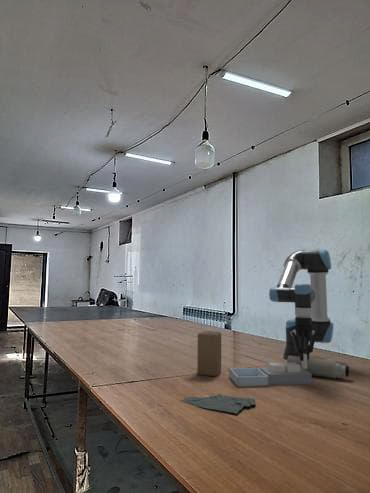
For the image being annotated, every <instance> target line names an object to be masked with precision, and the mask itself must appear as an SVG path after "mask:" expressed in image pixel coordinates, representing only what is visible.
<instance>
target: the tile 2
mask: <svg viewBox="0 0 370 493" xmlns="http://www.w3.org/2000/svg"><path fill="white" fill-rule="evenodd" d="M282 364H284V365H285V371H286V372H300V365H299V364H297V363H295V362H292V363H287V362H282Z"/></svg>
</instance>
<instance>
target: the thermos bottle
mask: <svg viewBox="0 0 370 493" xmlns="http://www.w3.org/2000/svg"><path fill="white" fill-rule="evenodd" d="M292 362H295V363H297V364H299V365H300V367H301V368H302V361H301V360H300V357H296V356H289V357H288V359H286V363H292ZM303 369H304V368H303ZM304 370H306V371H308V372H310V373H311V374H312V376H314V377H322V378H328V379H337V378H338V379H341V378H342V377H343V378H344V377H345V378H346V377H347V378H349V376H350V367H349V366H348V365H346V366H345V365H343V364H342V363H340V362H337V361H335V360H327V359H319V358H313V357H310V358H309V360H308V361H307V369H304Z"/></svg>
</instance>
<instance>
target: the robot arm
mask: <svg viewBox="0 0 370 493" xmlns="http://www.w3.org/2000/svg"><path fill="white" fill-rule="evenodd" d="M283 267H284V268H283V270H282V273H281V274H280V277H279V280H278V282H277V285H276V286H274V287H270V289H269V292H268V293H269V294H268V296H269V300H270V301H271V302H273V303H274V302H276V303H294V315H295V317H294V319H288V320H286V322H285V347H284V351H283V354H282V356H283V359H285V360H287V359H288V357H289V356H296V357H300V360H301V361H302V368H304V369H307V361H308V360H309V358H311V355H310V353H311V354H312V353H314V347H315V343H321V344H329V343H331V342H332V340H333V334H334V323H333V322H331V318H330V317H328V300H327V299H328V298H327V297H328V296H327V275H328V273H329V271H330V270H331V269H332V261H331V256H330V253H329V251H328V250H327V249H322V248H321V249H320V248H318V249H300V250H296V251H294V252H293V253H291V254H290V255H289V256H287V257H286V259H285V260H284V262H283ZM301 270H307V271H306V272H307V274H308V275H309V277H310V283H296V284H295V285H294V283H295V279H296V277H297V273H299V271H301ZM293 285H294V287H293Z"/></svg>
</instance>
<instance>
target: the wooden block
mask: <svg viewBox="0 0 370 493" xmlns="http://www.w3.org/2000/svg"><path fill="white" fill-rule="evenodd" d="M196 367H197V369H196V370H197V371H196V372H197V375H199V376H208V377H217V376H218V375H219V374H220V373H221V372H222V333H221V332H220V331H210V330H209V331H208V330H204V331H203V330H202V332H199V333H198V334H197V366H196Z"/></svg>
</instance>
